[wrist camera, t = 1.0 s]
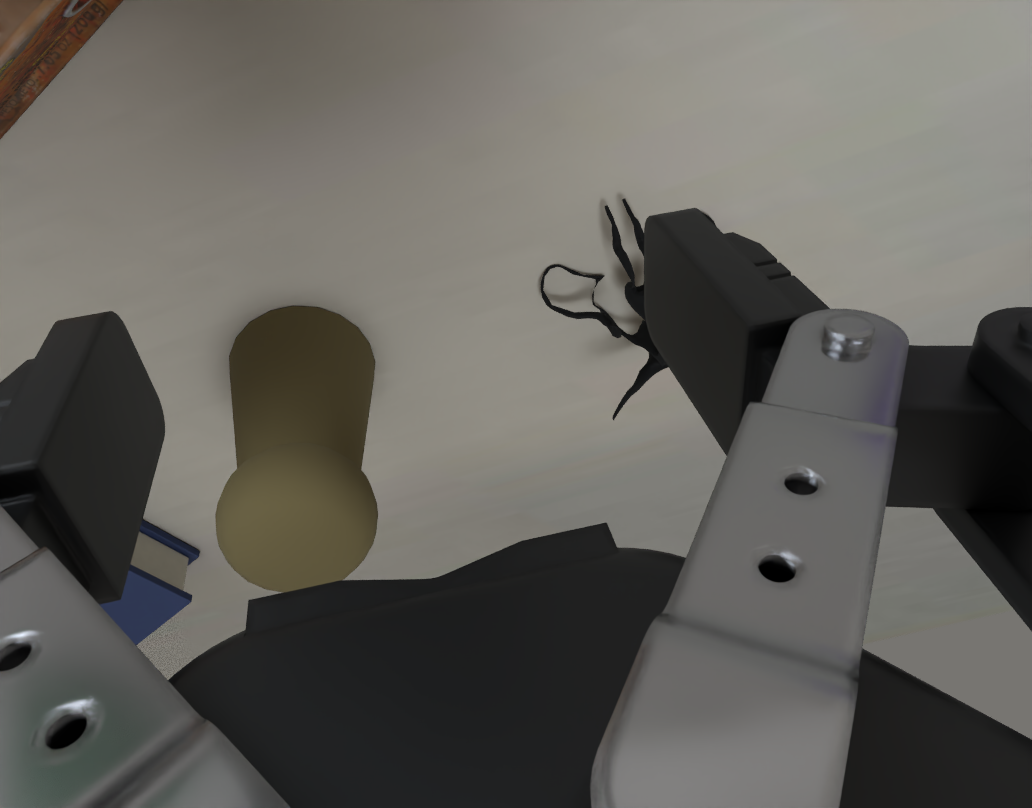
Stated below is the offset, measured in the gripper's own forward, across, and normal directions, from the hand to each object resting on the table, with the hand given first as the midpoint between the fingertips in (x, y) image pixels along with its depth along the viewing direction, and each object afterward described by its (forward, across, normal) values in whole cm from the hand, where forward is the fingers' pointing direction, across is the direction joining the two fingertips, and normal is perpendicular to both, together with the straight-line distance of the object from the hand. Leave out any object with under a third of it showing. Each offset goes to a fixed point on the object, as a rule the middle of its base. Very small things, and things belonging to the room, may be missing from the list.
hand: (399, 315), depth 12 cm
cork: (+19, +5, +12) cm, 23 cm away
